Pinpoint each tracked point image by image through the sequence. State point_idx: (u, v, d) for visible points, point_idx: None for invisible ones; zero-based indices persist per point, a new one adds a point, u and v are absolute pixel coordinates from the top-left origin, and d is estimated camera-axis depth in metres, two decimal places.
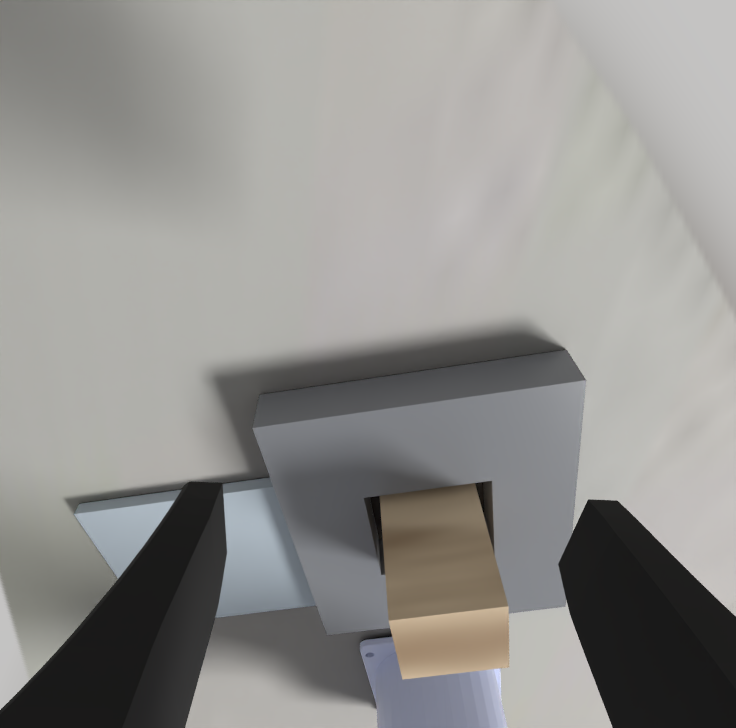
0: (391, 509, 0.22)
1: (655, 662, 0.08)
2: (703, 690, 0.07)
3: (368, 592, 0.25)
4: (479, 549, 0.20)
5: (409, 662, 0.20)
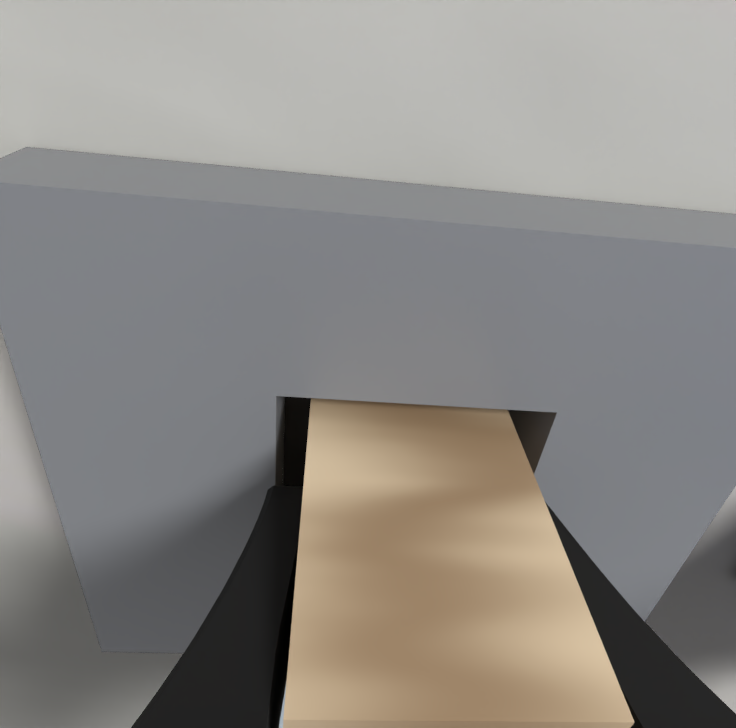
0: None
1: None
2: None
3: None
4: None
5: None
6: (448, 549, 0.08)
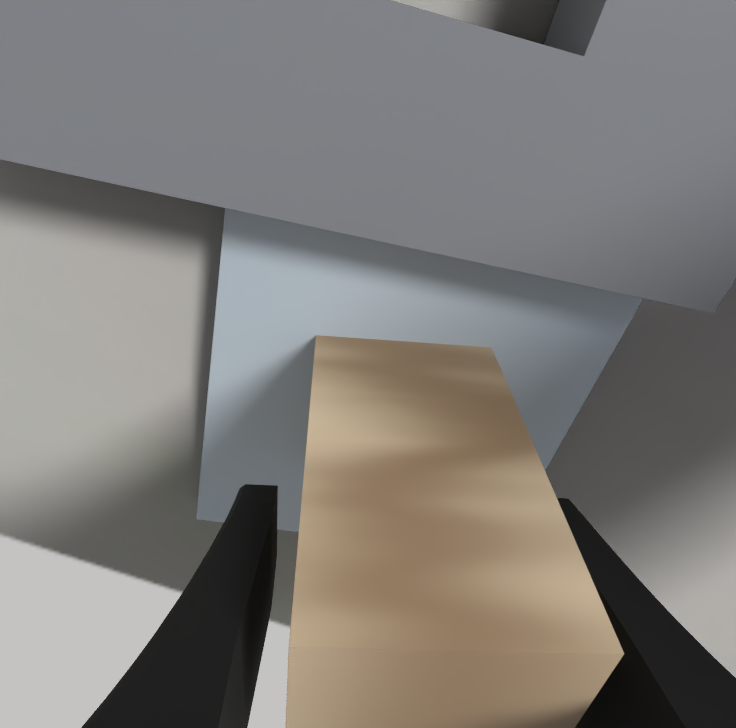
0: None
1: None
2: (634, 689, 0.07)
3: (630, 133, 0.09)
4: None
5: None
6: (446, 501, 0.08)
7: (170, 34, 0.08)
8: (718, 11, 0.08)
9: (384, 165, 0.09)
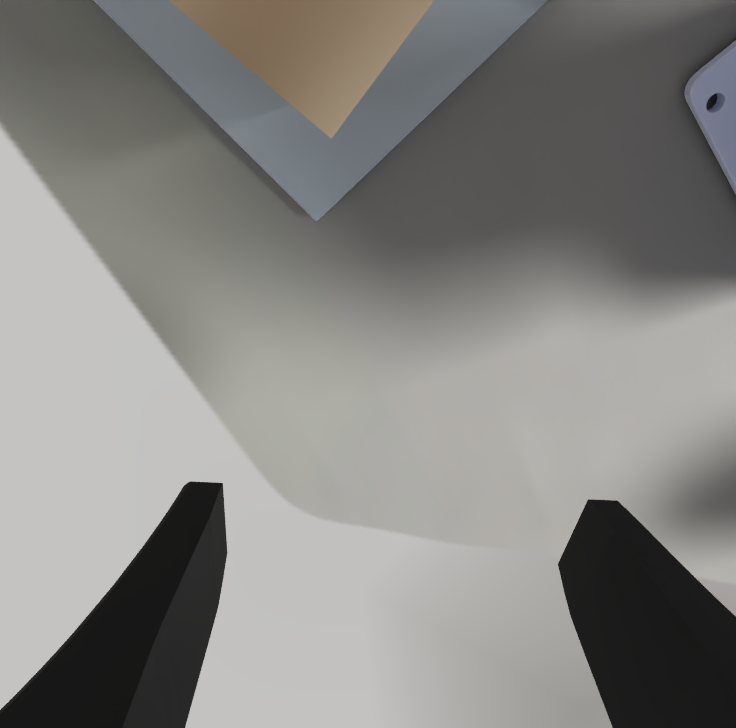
0: None
1: (655, 662, 0.08)
2: (703, 690, 0.07)
3: None
4: None
5: (288, 69, 0.09)
6: None
7: None
8: None
9: None
